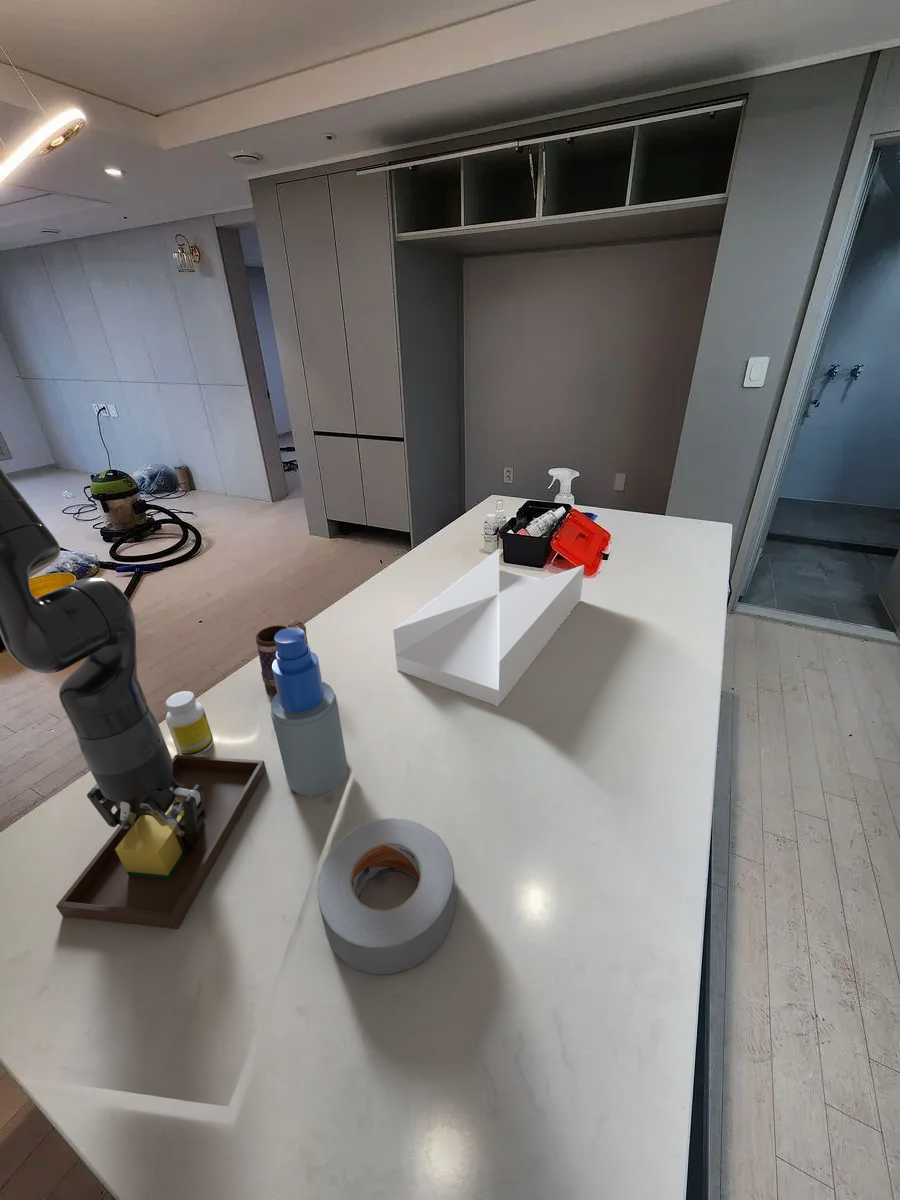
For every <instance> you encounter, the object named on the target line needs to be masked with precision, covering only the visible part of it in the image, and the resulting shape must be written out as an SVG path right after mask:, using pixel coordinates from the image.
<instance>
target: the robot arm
mask: <svg viewBox="0 0 900 1200" xmlns="http://www.w3.org/2000/svg"><path fill="white" fill-rule="evenodd" d="M60 554H61V547H60V543H59V542H58V541H57V539H56V538H55V536H54V535H53V533H52V532H51V531H50V529H49V528H48V527H47V525H45V523H44V522H43V521H42V519H41V517H39V515H38V514H37V513H36V512H35V510H34V508H32V506H31V505H30V504H29V502H27V500H26V498H25V497H23V495H22V494H21V493H20V491H19V490H18V489H17V487H16V486H15V485H14V483H13V482H12V481H11V479H10V478H9V477H8V475H7V474H6V473H5V471H4V469H2V467H1V466H0V637H1V640H2V642H3V644H4V646H5V649H6V650H7V652H8V653H9V655H10V656H11V657H12V658H13V660H14V661H15V662H17V663H18V664H19V665H20V666H22V667H23V668H25V669H27V670H30V671H33V672H35V673H38V674H39V673H40V674H51V675H52V674H55V673H59V672H61V671H64V670H66V669H68V668H70V667H72V666H74V665H75V664H76V663H77V664H78V663H79V662H81V661H82V660H83V661H82V663H81V664H80V665H79V666H77V668H76V669H75V670H74V671H73V672H71V673H70V675H68V676H67V678H66V679H65V680H64V681H63V682H62V683H61V685H60V687H59V690H58V699H59V701H60V704H61V706H62V709H63V711H64V712H65V715H66V717H67V719H68V721H69V724H70V725H71V727H72V729H73V731H74V733H75V735H76V738H77V742H78V747H79V749H80V752H81V754H82V756H83V758H84V760H85V763H86V764H87V766H88V768H89V770H90V772H91V774H92V777H93V778H94V780H95V782H96V784H95V785H94V786H93V787H92V788H91V790H90V791H88V792H87V794H86V797H87V798H88V800H89V801H90V803H91V804H92V805H93V807H94V809H96V811H97V812H98V813H99V815H100V816H101V818H102V819H103V820H104V821H105V823H106V824H107V825H108V826H109V827H110V828H116V827H117V826H120V825H121V826H122V829H123V830H125V831H127V832H128V831H129V830H130V829H131V828H132V826H133V825H134V824H135V822H136V821H137V820H138V818H139V817H140V816H142V815H149V816H153V817H154V819H155V820H156V821H157V822H158V823H159V824H160V825H161V826H163V827H164V826H168V827H169V828H170V829H171V830H172V831H173V832H174V833H175V834H176V837H177V840H178V842H179V845H180V847H181V850H182V853H184V854H189V853H190V852H191V851H192V850H193V849H194V847H195V846H196V844H197V842H198V841H199V836H198V834H197V830H198V829H199V827H200V826H201V824H202V822H203V821H204V819H205V818H206V816H207V814H206V805H205V797H204V789H203V787H202V786H200V785H195V786H194V787H193V789H192V790H189V789H184V788H180V785H179V783H178V782H177V781H176V780H175V779H174V778H173V776H172V769H173V761H172V759H173V757H172V756H171V753H170V750H169V748H168V745H167V743H166V740H165V737H164V735H163V732H162V729H161V727H160V725H159V721H158V720H157V717H156V715H155V714H154V712H153V710H152V709H151V707H150V706H149V704H148V701H147V698H146V696H145V693H144V691H143V688H142V685H141V683H140V680H139V677H138V671H137V670H138V669H137V667H138V661H137V628H136V627H137V626H136V618H135V614H134V609H133V607H132V605H131V603H130V601H129V599H128V597H127V595H125V593H124V592H123V591H122V590H121V588H120V587H118V586H117V585H116V584H114V583H113V582H111V581H109V580H107V579H105V578H101V577H95V576H91V577H85V578H81V579H79V580H76V581H74V582H71V583H69V584H66V585H63V586H62V587H59V588H57V589H55V590H53V591H50V592H48V593H45V594H43V595H40V596H38V597H36V596H34V594H33V593H32V590H31V586H30V579H31V578H32V577H34V576H35V575H37V574H38V573H40V572H42V571H44V570H45V569H47V568H48V567H50V566H51V565H52V564H53V563H54V562H56V560H58V558H59V556H60ZM172 804H173V806H172V808H171V810H170V811H169V812H168V814H167V815H166V814H165V813H166V812H167V811H168V809H169V808H170V806H171V805H172ZM114 807H115V808H116V811H115V812H114V813H113V810H112V809H113V808H114ZM178 815H180V816H181V817H182V818H183V819H182V821H181V822H180V823H179V822H178V821H177V817H178Z"/></svg>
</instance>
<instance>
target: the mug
mask: <svg viewBox="0 0 900 1200" xmlns="http://www.w3.org/2000/svg"><path fill="white" fill-rule="evenodd" d="M297 627H298V628H300V629H302V630H303V631H304V632H305V637H306V643H307V645H309V642H308V637H307V627H306V625H305V623H304V622H303V621H302V619H301V618H293V619H292V620H290V622H289V623H288V625H287V626H285V625H278V624H277V625H270V626H267V627H265V628H263V629H261V630H259V631H258V632H257V633H256V635H255V644H256V648H257V652H258V657H259V662H260V667H261V668H260V669H261V672H260V673H261V678H262V681H263V683H264V688H265V691H266V693H267V694H269V695H271V696H273V697H274V696H275V695H276V694H277V688H276V684H275V680H274V675H273V671H272V664H273V662H274V661H275V660H276V651H277V648H276V644H275V639H274V637H275V635H276V633H277V632H279V631H280V630H282V629H286V628H297Z"/></svg>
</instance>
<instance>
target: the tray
mask: <svg viewBox="0 0 900 1200" xmlns="http://www.w3.org/2000/svg"><path fill="white" fill-rule="evenodd" d="M172 761H173V769H172V776H173V778H174V779H175V780H176V781H177V782H178V783H179V785H180V788H184V789H189V790H192V789H193V787H194V786H195V785H200V786H202V787H203V789H204V797H205V805H206V814H207V816H206V818H205V819H204V825H203V827H202V829H201V830H200V832H199V833H198V836H199V841H198V842H197V844H196V846H195V847H194V849H193V850H192V851H191V852H190V853H189V854H185V856H184V857H183V859H182V861H181V862H180V864H179V865H178V867H177V869H176V870H175V872H174V874H173V875H172V877H171V878H170V879H161V878H150V877H140V876H129V875H128V873H127V871H126V870H125V868H124V866H123V864H122V862H121V860H120V858H119V856H118V854H117V852H116V850H115V848H116V847H117V846H118V845H119V843H120V842H121V841H122V839H123V838H124V837H125V835H126V834H127V833H128V832H127V831H125V830H123V829H122V826H121V825H118V827H117V828H116V829H115V831H114V832H113V833H112V834H111V835H110V837H108V839H107V841H106V842H105V843H104V844H103V845H102V846H101V848H100V850H99V851H98V852H97V853H96V855H95V856H94V857H93V858H92V860H91V861H90V862H89V864H87V866H86V868H85V869H84V870H83V871H82V872H81V874H80V875H79V876H78V877H77V879H76V880H75V881H74V882H73V884H72V885H71V886H70V887H69V888H68V890H67V891H66V893H65V894H64V895H63V897H62V898H61V899H60V900H59V901H58V903H57V904H55V908H56V909H57V910H58V913H60V915H61V917H63V918H71V919H80V920H89V921H97V922H98V921H99V922H107V923H117V924H126V925H135V926H145V927H154V928H164V929H173V930H179V929H180V927H181V925H182V923H183V922H184V920H185V918H186V916H187V914H188V913H189V911H190V909H191V907H192V905H193V903H194V902H195V900H196V898H197V896H198V894H199V893H200V891H201V889H202V888H203V886H204V883H205V882H206V880H207V878H208V877H209V875H210V873H211V871H212V869H213V868H214V866H215V865H216V863H217V860H218V859H219V857H220V855H221V853H222V851H223V850H224V848H225V846H226V844H227V843H228V841H229V839H230V837H231V836H232V833H233V832H234V830H235V828H236V826H237V824H238V823H239V821H240V819H241V817H242V816H243V814H244V812H245V811H246V808H247V806H248V805H249V803H250V801H251V800H252V798H253V796H254V794H255V793H256V790H257V789H258V787H259V785H260V783H261V782H262V780H263V778H264V776H265V774H266V772H267V767H266V764H265V761H264V760H259V759H258V760H256V759H244V758H243V759H241V758H229V757H228V758H227V757H214V756H213V757H212V756H200V755H199V756H198V755H194V756H185V755H180V754H175V755H173V757H172Z"/></svg>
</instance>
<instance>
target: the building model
mask: <svg viewBox="0 0 900 1200" xmlns="http://www.w3.org/2000/svg"><path fill="white" fill-rule="evenodd" d="M584 571H585V564H581V565H579V566H576V567H573V568H570V569H567V570H564V571H561V572H558V573H555V574H552V575H550V576H546V577H544V578H540V577H535V576H532V575H526V574H523V573H522V574H521V573H516V572H513V571H509V570H503V569H500V548H497V550H495V551H494V552H493V553H491V554H490V555H488V556H487V557H486V558H485V559H484V560H482V561H480V562H479V563H478V564H476V566H474V567H473V568H471V569H470V570H469V571H467V572H466V573H465V574H463V576H461V577H460V578H458V580H456V581H455V582H453V583H452V584H450V585H449V586H448V587H447V588H445V589H444V590H442V591H441V592H440V593H439V594H438V595H436V596H434V597H433V598H432V599H431V600H429V602H427V603H426V604H425V605H423V606H422V607H421V608H419V609H418V610H416V611H415V612H414V613H412V614H411V615H410V616H409V617H407V618H406V619H405V620H404V621H402V622H401V623H400V624H398V625H397V626H396V627H394V628H393V631H392V632H393V641H394V652H395V662H396V671H398V672H401V673H403V674H407V675H409V676H412V677H415V678H417V679H421V680H424V681H426V682H429V683H432V684H434V683H435V685H438V686H440V687H443V688H446V689H449V690H451V691H454V692H457V693H460V694H463V695H464V696H469V697H471V698H474V699H476V700H478V701H482V702H485V703H488V704H491V705H494V706H496V707H499V706H501V704H502V702H503V701H504V700H505V698H506V697H507V696H508V695H509V693H510V692H511V690H512V689H513V688H514V687H515V686H516V684H517V683H518V682H519V681H520V679H521V678H522V677H523V675H524V674H525V673H526V672H527V670H528V669H529V667H530V666H531V665H532V663H533V662H534V661H535V660H536V658H537V657H538V656H539V655H540V653H541V652H542V651H543V649H544V648H545V647H546V646H547V644H548V643H549V642H550V641H551V639H552V638H553V637H554V635H555V634H556V633H557V631H558V630H559V629H560V627H561V626H562V625H563V624H562V622H563V621H564V620H565V619H566V620H567V618H568V617H569V616H568V614H569V613H570V612H571V610H572V609H573V608H574V607H575V605H576V604H577V603H578V601H579V600H580V599H582V598H581V597H582V589H583V580H584ZM580 601H581V600H580ZM578 604H579V603H578ZM578 604H577V605H578ZM577 605H576V606H577ZM575 608H576V607H575ZM575 608H574V609H575ZM574 609H573V610H574ZM571 613H572V612H571ZM571 613H570V614H571ZM567 616H568V617H567ZM566 617H567V618H566ZM566 620H565V621H566ZM565 621H564V622H565ZM564 622H563V623H564ZM561 624H562V625H561ZM560 625H561V626H560ZM559 626H560V627H559ZM558 628H559V629H558ZM557 629H558V630H557ZM555 632H556V633H555ZM554 633H555V634H554ZM551 637H552V638H551ZM548 641H549V642H548Z"/></svg>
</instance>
